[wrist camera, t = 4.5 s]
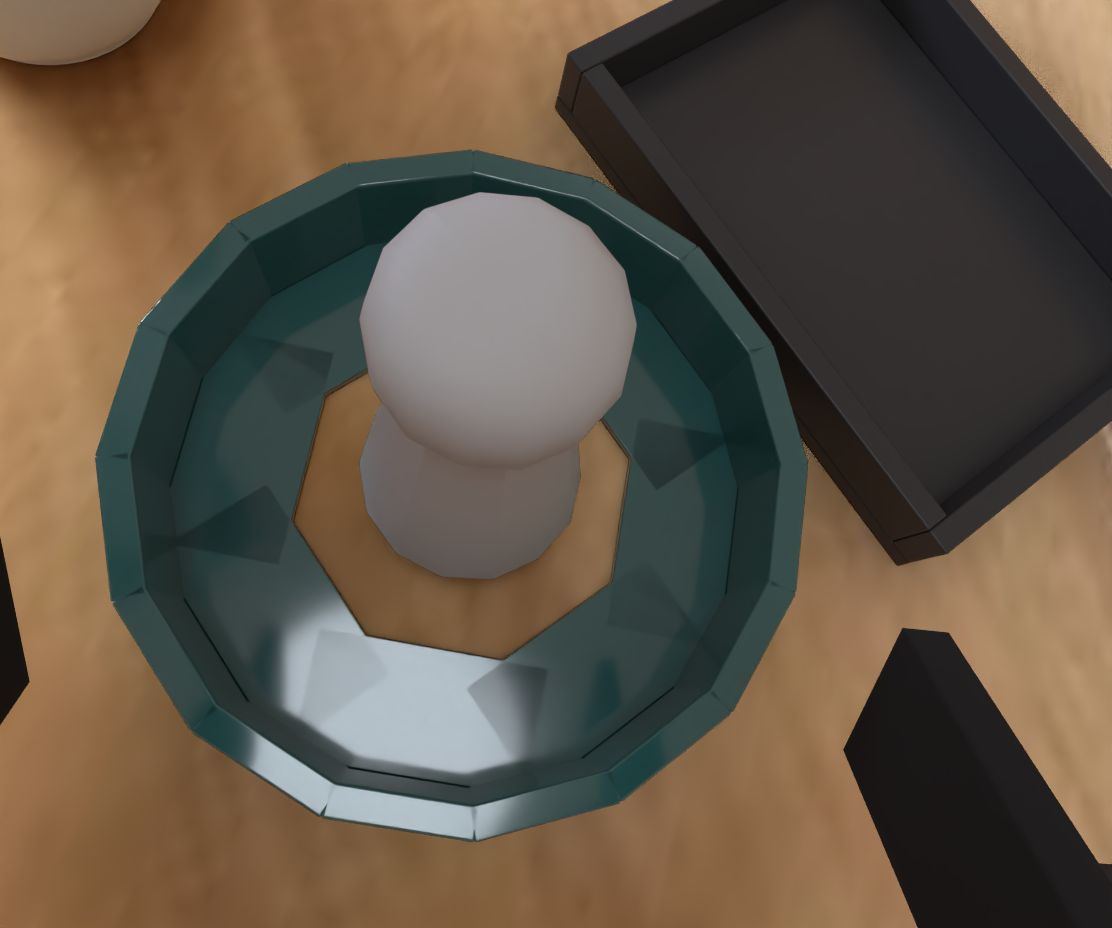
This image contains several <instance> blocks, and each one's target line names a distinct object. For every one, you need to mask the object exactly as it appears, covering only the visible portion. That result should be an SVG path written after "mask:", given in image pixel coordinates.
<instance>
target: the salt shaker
mask: <svg viewBox="0 0 1112 928" xmlns="http://www.w3.org/2000/svg"><path fill="white" fill-rule="evenodd" d="M359 320H360V326H361V332H362V338H363V343H364V349H365V355H366V361H367V367H368V372H369V378H370V381H371V384H372V387H373V390H374V392H375V393H376V394H377V396H378V397H379V399H380V400H381V401H382V403H381V405H380V407H379V409H378V411H377V413H376V415H375V417H374V420H373V423H372V426H371V429H370V432H369V435H368V438H367V441H366V444H365V447H364V450H363V453H362V456H361V459H360V462H359V466H360V472H361V479H362V485H363V491H364V498H365V504H366V511H367V513H368V514H369V516H370V517H371V518H372V520H373V521H374V523H375V524H376V526H377V527H378V528H379V530H380V531H381V533H382V534H383V535H384V537H385V538H386V540H387V541H388V542H389V544H390V545H391V547H392V548H393V550H394V551H395V552H396V553H397V554H399V555H401V556H403V557H404V558H406V559H408V560H410V561H412V562H414V563H416V564H418V565H420V566H422V567H424V568H425V569H427V570H429V571H431V572H433V573H435V574H437V575H439V576H441V577H457V578H476V579H495V578H497V577H499V576H501V575H503V574H506V573H508V572H510V571H512V570H514V569H517V568H519V567H521V566H523V565H525V564H528V563H530V562H532V561H534V560H536V559H538V558H539V557H540V556H541V555H542V554H543V552H544V551H545V550H546V549H547V548H548V547H549V546H550V545H551V544H552V542H553V541H554V540H555V539H556V538H557V537H558V536H559V535H560V533H561V532H562V531H563V530H564V529H565V528H566V527H567V526H568V524H569V523H570V522H571V517H572V513H573V509H574V504H575V500H576V495H577V491H578V486H579V482H580V478H581V472H580V458H579V445H578V443H579V442H580V441H581V440H582V439H583V438H584V437H585V436H586V435H587V433H588V432H589V431H590V430H591V429H592V428H593V427H594V426H595V425H596V423H597V422H598V421H599V420H600V419H601V418H602V417H603V416H604V415H605V414H606V412H607V411H608V410H609V409H610V408H611V407H612V406H613V405H614V404H615V402H616V401H617V400H618V399H619V398H620V397H621V395H622V391H623V386H624V382H625V378H626V373H627V369H628V365H629V360H630V356H631V352H632V347H633V343H634V338H635V332H636V326H637V324H636V319H635V315H634V310H633V306H632V301H631V297H630V292H629V288H628V283H627V279H626V274H625V270H624V269H623V268H622V267H621V265H620V264H619V263H618V262H617V260H616V259H615V258H614V257H613V255H612V254H611V253H610V252H609V250H608V249H607V248H606V247H605V246H604V244H603V243H602V242H601V241H600V239H599V238H598V237H597V236H596V234H595V233H594V232H593V231H592V229H591V228H590V227H589V226H588V225H586V224H584V223H582V222H581V221H579V220H577V219H575V218H573V217H572V216H570V215H568V214H566V213H564V212H563V211H561V210H559V209H557V208H555V207H554V206H552V205H550V204H548V203H547V202H545V201H543V200H541V199H539V198H536V197H525V196H515V195H504V194H493V193H482V192H479V193H475V194H472V195H469V196H465V197H462V198H459V199H456V200H452V201H449V202H446V203H442V204H439V205H436V206H432V207H429V208H426V209H424V210H423V211H421V212H420V213H419V214H418V215H417V216H416V217H415V218H414V219H413V220H412V221H411V222H410V223H409V224H408V225H407V226H406V227H405V228H404V229H403V230H402V231H401V232H400V233H399V234H397V235H396V236H395V237H394V238H393V239H392V240H391V241H390V242H389V243H388V244H387V245H386V246H385V247H384V248H383V250H382V253H381V255H380V258H379V261H378V264H377V266H376V269H375V272H374V275H373V278H372V280H371V283H370V286H369V289H368V291H367V294H366V297H365V300H364V303H363V306H362V310H361V314H360V318H359Z"/></svg>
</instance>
